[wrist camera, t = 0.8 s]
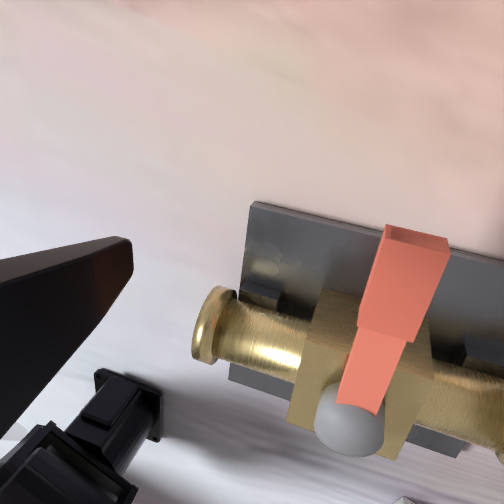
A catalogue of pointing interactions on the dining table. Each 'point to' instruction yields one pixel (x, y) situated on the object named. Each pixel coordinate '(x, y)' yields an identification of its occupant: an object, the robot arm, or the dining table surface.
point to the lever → (381, 339)
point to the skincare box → (404, 501)
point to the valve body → (345, 328)
